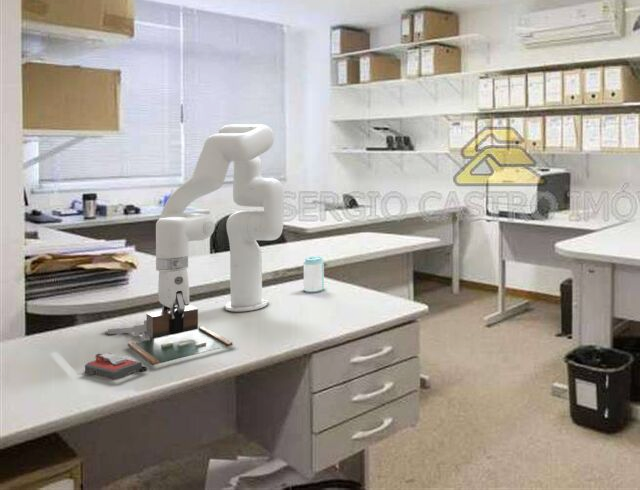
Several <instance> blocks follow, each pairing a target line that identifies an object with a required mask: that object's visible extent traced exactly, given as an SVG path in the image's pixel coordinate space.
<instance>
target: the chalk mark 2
mask: <svg viewBox="0 0 640 490" xmlns="http://www.w3.org/2000/svg"><path fill="white" fill-rule="evenodd" d="M186 345H190V343H189V342H185V343H181V344H178V346H179V347H182V346H186Z"/></svg>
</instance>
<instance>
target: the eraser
mask: <svg viewBox="0 0 640 490" xmlns="http://www.w3.org/2000/svg"><path fill="white" fill-rule="evenodd" d="M184 306H185V305H184ZM176 310H177V309H174V313H175V311H176ZM183 313H184V317H183V332H182V333H184V332H189V331H193V330H198V327H199V308H198V307H196V306H194V305H192V304H191V305H190V304H189V305H188V306H185V310H184V312H183ZM170 319H171V313H170V309H168V310H163V311H162V310H158V311H153V312H148V313H146V320H147V335H148V336H150V337H151V338H153V339H157V338H162V337H166V336H171V334H170ZM153 339H152V340H153Z"/></svg>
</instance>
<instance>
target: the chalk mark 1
mask: <svg viewBox="0 0 640 490" xmlns="http://www.w3.org/2000/svg"><path fill="white" fill-rule="evenodd" d="M170 345H173V343H172V342H169V343H165V344H161V346H162V347H166V346H170Z"/></svg>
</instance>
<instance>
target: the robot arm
mask: <svg viewBox="0 0 640 490" xmlns="http://www.w3.org/2000/svg"><path fill="white" fill-rule="evenodd" d="M274 140H275V133H274V130H272V128H271V127H270V126H268V125H267V124H245V123H244V124H240V123H239V124H226V125H224V126H222V127H220V129H219V131H218V133H214V134H211V135H210V136H208V137H207V138H205V140H204V143H203V145H202V149H201V151H200V152H199V153H200V154H199V156H198V159H197V162H196V164H195V167H194V170H193V173H192V175H191V177H190V178H189V179H188V180H187V181H185V182H183V184H181V185H180V186H179V187H178V188H176V189H175V191H173V193H171V195H170V196H169V197H168V198H167V199H166V201H165V203H164V205H163V209H162V211H161V214H160V217H159V219H157V221H156V223H155V271H157V272H158V284H157V285H158V290H157V295H158V301H159V303H160V304H161V311H163V310H168V309H170V313H171V319H170V334H171V335H175V334H180V333H184V332H183V317H184V313H183V312H184V310H185V306H190V303H191V302H190V284H189V275H188V270H187V269H188V268H189V242H194V241H195V242H196V241H197V242H199V241H204V240H206V239H208V238H210V237H211V236H212V235H213V233H214V231H215V228H216V224H215V221H214V219H213V218H212V217H211V216H210V215H208V214H205V213H190V212H189V213H188V212H185V210H186V209H187V207H189V205H190V204H192V203H193V202H194V201H196V200H197V199H200V198H201V197H204V196H207V195H209V194H211V193H213V192H215V191H218V190H219V189H221V188H222V187H223V185H224V182H225V179H226V177H227V173H228V169H229V167H230V165H231V163H232V164H233V180H232V181H233V182H232V198H233V202H234V203H235V204H236V205H237V206H240V207H249V208H250V207H251V208H263V210H239V211H235V212H233V213H231V214H230V215H229V216H228V218H227V219H226V225H225V226H226V234H227V238H228V243H229V270H230V271H229V273H230V275H229V276H230V278H229V281H230V282H229V284H230V289H229V290H230V294H229V295H230V301H229V302H227V303H225V305H224V307H225V310H226V311H229V312H235V313H236V312H237V313H238V312H239V313H240V312H241V313H243V312H251V311H257V310H260V309H262V308H265V307H266V306H267V305H268V300H267V299H265V298H263V253H262V249H261V247H260V245H259V243H258V241H276V240H277V239H279V238H280V237H281V236H282V234H283V229H284V219H285V217H284V216H285V214H284V213H285V189H284V186H283V184H282V182H281V181H280V180H279V179H278V178H274V177H263V175H262V173H263V170H262V168H263V166H262V161H261V158H260V156H261V155H263V154H264V153H266V152H268V151H269V150H270V149H271V148H272V147H273V145H274ZM174 309H177V310H176V311H175V313H174ZM171 335H170V336H171Z"/></svg>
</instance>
